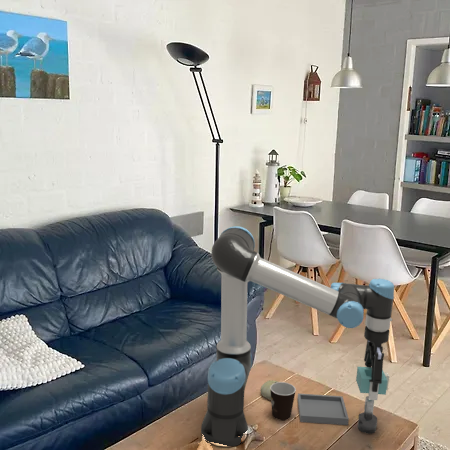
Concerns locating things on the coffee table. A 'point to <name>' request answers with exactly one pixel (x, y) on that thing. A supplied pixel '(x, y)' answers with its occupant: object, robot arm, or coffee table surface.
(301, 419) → the tray
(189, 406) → the coffee table surface
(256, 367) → the coffee table surface
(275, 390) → the coffee mug
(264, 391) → the sea urchin shell
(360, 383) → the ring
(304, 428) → the coffee table surface
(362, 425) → the cylinder
